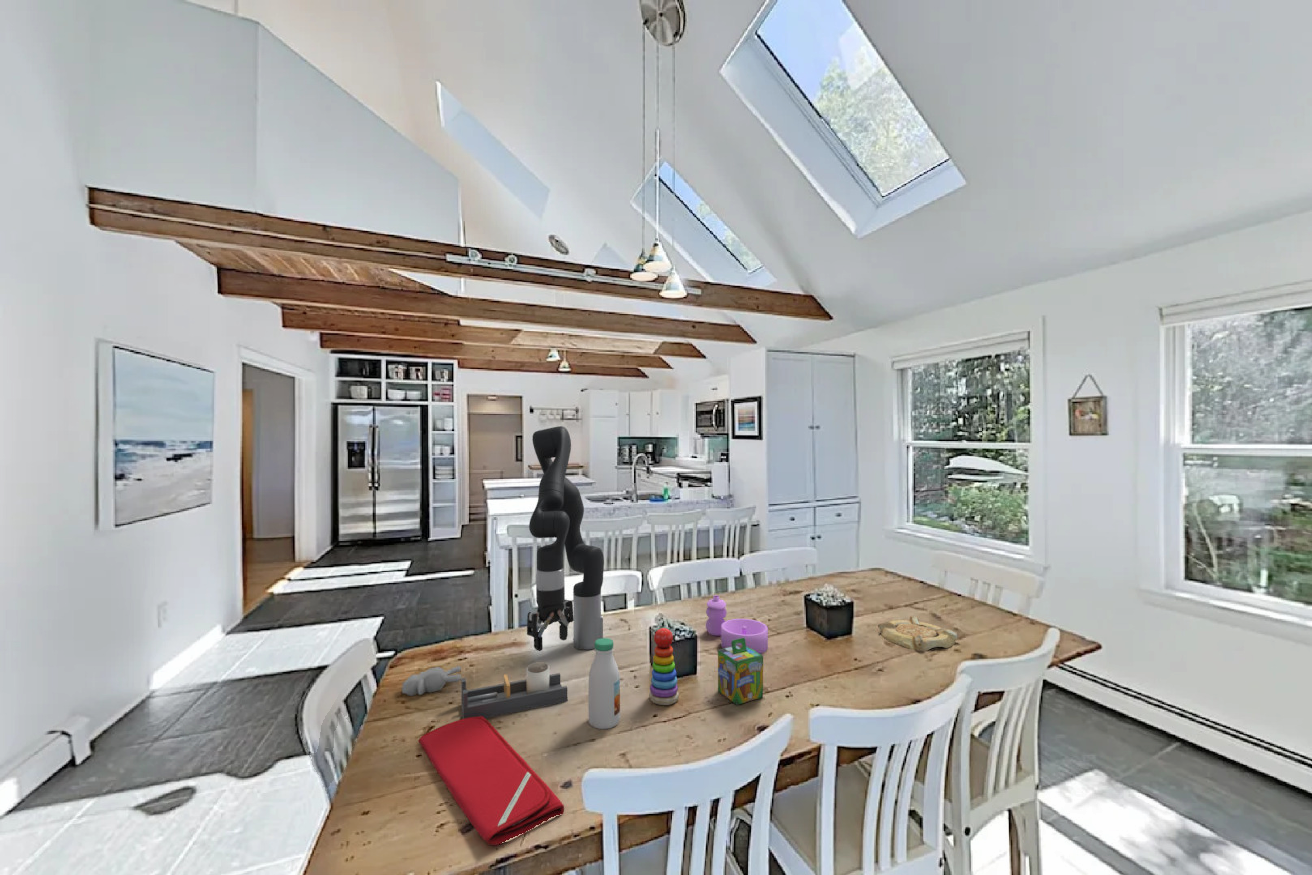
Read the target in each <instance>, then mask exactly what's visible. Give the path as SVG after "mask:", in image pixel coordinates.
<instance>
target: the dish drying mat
mask: <svg viewBox="0 0 1312 875" xmlns="http://www.w3.org/2000/svg"><path fill="white" fill-rule="evenodd" d="M418 743H419V744H420V747H421V749H423V751H424V752H425V754H426V755H427V757H428V758H429V761H430V763H431V764H432V766H433V768H434V769H435V771H436V772H437V773H438V775H439V776H440V778H441V780H442V782H443V784H444V785H445V786H446V789H448V790H449V792H450V794H451V796H452V798H453V799H454V801H455V803H456V804H457V805H458V807H459V808H460V810H461V811H462V812H463V814H464V816H465V817H466V818H467V819H468V821H469V822H470V823H471V825H472V826H473V827H474V829H475V830H476V832H477V833H478V834H479V836H480V837H481V838H482V840H484V842H486V843H487V844H488V845H492V846H498V845H499V844H500V845H502V844H501V843H502V842H505V841H506V840H509V839H510V838H513V837H515V836H518V835H519V834H522V833H525V832H526V831H528V830H530V829H532V828H534V827H535V826H536V825H539V824H541V823H542V822H543V821H547V820H548V819H549V818H551V817H554V816H556V815H560V814H563V815H564V812H565V805H564V804H563V802H562V801H561V800H560V798H559V797H558V796H557V795H556V794H555V792H553V790H552V789H551V788H550V786H548V785H547V783H546V782H545V781H544V780H543V779H542V778H541V777H540V776H539V775H538V774H537V773H536V772H535V771H534V769H533V768H532V767H531V766H530V765H529V764H528V762H526V760H525V759H524V758H523V757H522V756H521V755H520V754H519V753H518V752H517V751H516V750H515V749H514V748H513V746H512V745H511V744H509V742H508V741H507V740H506V739H505V738H504V736H502V734H500V732H499V731H498V730H497V729H496V728H495V727H494V725H492V723H491V722H490V721H489V720H487V718H484V717H483V716H479V717H468V718H465V719H463V718H461V719H458V720H455V721H452V722H449V723H447V724H446V723H445V724H444V725H441V726H439V727H436V728H435V729H432V730H430V731H428V732H427V733H425V734H424V735H422V736H421V737H419V739H418ZM560 816H561V815H560ZM525 834H526V833H525Z"/></svg>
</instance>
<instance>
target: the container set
mask: <svg viewBox="0 0 1312 875" xmlns="http://www.w3.org/2000/svg"><path fill="white" fill-rule="evenodd" d="M726 606H727V604H726V601H725V600H723V599H720V595H718V594H715V595H712V598H710V599H709V600H708V601H707V602H706V607H707V608H706V610H705V613H706V616H707V618H708V619H707V620H706V622H705V629H706V631H707V632H708V634H710V635H712V636H715V637H716V636H717V637H719V636H720V640H721V641H720V645H721V649H723V648H728V647H732V644H731V642H732V640H736V639H740V638H745V643H746V647H748V648H751V649H753V650H755V651H756V652H757V653H759V654H760V655H762V654H764V653H766V652H767V651H768V648H769V647H768V645H769V643H768V642H769V639H768V638H769V636H768V634H769V632H768V631H769V628H768V626H767V625H766V624H765V623H763V622H761V621H758V620H755V619H751V618H750V619H749V618H732V619H727V620H725V618H726V616H727V614H728V612H727V609H726ZM737 645H742V644H741V643H737V644H736V646H737Z"/></svg>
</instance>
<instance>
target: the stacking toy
mask: <svg viewBox="0 0 1312 875" xmlns="http://www.w3.org/2000/svg"><path fill="white" fill-rule="evenodd" d="M653 637H654V638H653V640H654V643H655V645H656V646H655V648H654V650H653V651H654V655H653V657H652V660H653V662H652V672H651V675H652V677H651V680H650V681H651V684H650V686H649V691H650V692H649V695H648V696H649V699H650V700H651V702H652V703H654V704H656V705H660V706H669V705H673V704H675V703H676V702H678V700H679V698H680V693H679V691H678V690H679V688H678V677H677V671H676V664H675V661H674V658H675V657H674V655H673V652H674V648H673V647H672V646H671V645H672V644H673V641H674V640H673V639H674V636H673V632H672V631H671V630H669V629H668V628H665V627H661V628H659V629H657V630H656V631H655V633H654V636H653Z"/></svg>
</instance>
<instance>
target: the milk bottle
mask: <svg viewBox="0 0 1312 875" xmlns="http://www.w3.org/2000/svg"><path fill="white" fill-rule="evenodd" d="M613 651H614V641H613V639H612V638H608V637H603V638H601V639H598V640H596V641H595V648H594V652H595V655H594V658H593V662H592V664H591V666H590V669H589V672H588V723H589V725H590V726H591V727H592V728H595V729H599V730H608V729H612V728H614V727H616V726H618V724H619V723H620V720H621V692H620V691H621V689H620V688H621V686H620V685H621V680H620V678H621V677H620V671H619V667H618V664H617V662H616V659H615V657H614V654H613Z"/></svg>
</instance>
